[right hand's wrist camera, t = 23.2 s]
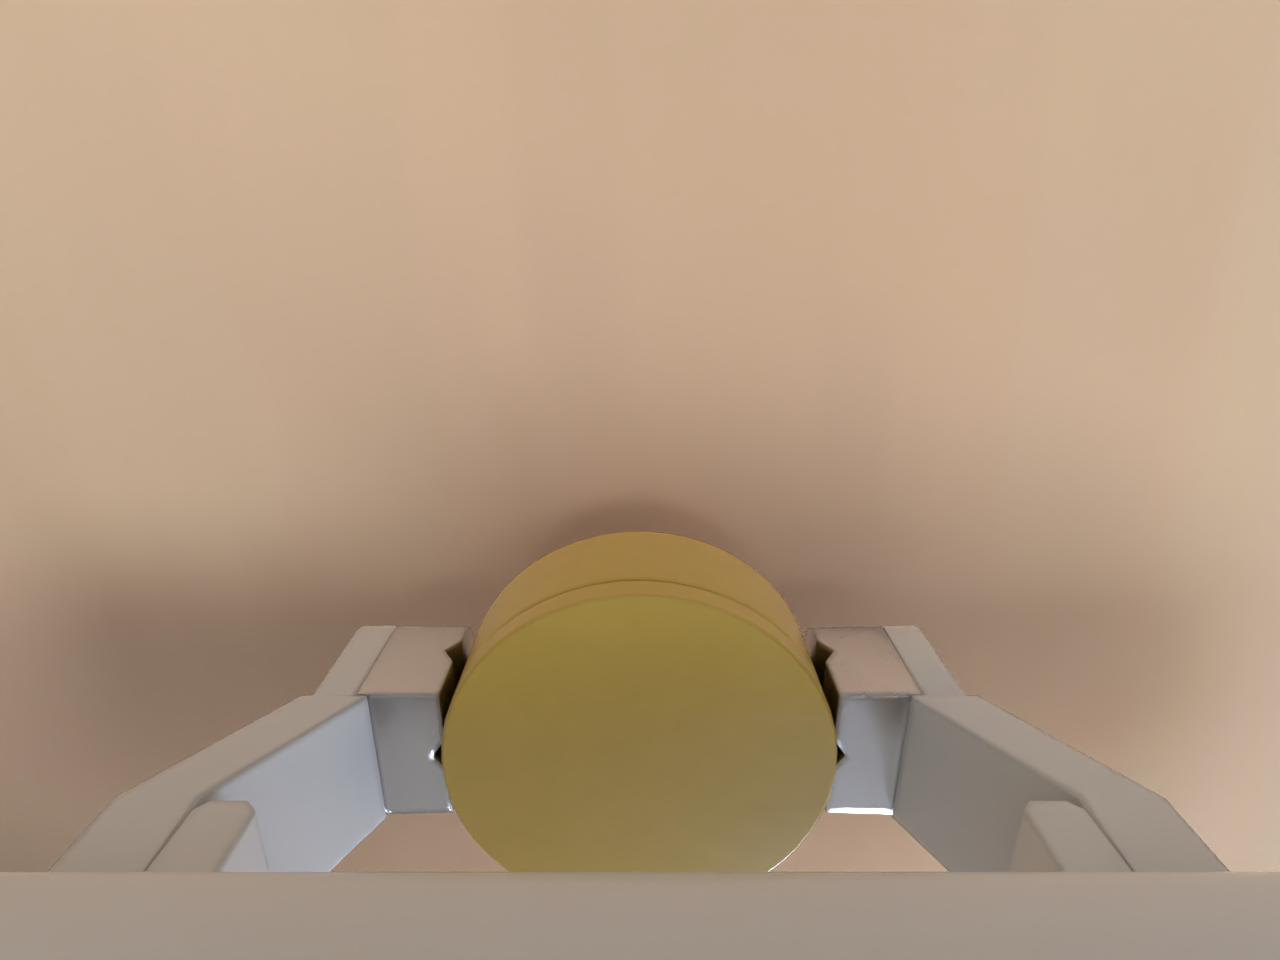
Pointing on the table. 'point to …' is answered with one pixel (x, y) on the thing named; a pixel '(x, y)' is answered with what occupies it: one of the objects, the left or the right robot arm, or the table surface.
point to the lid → (639, 715)
